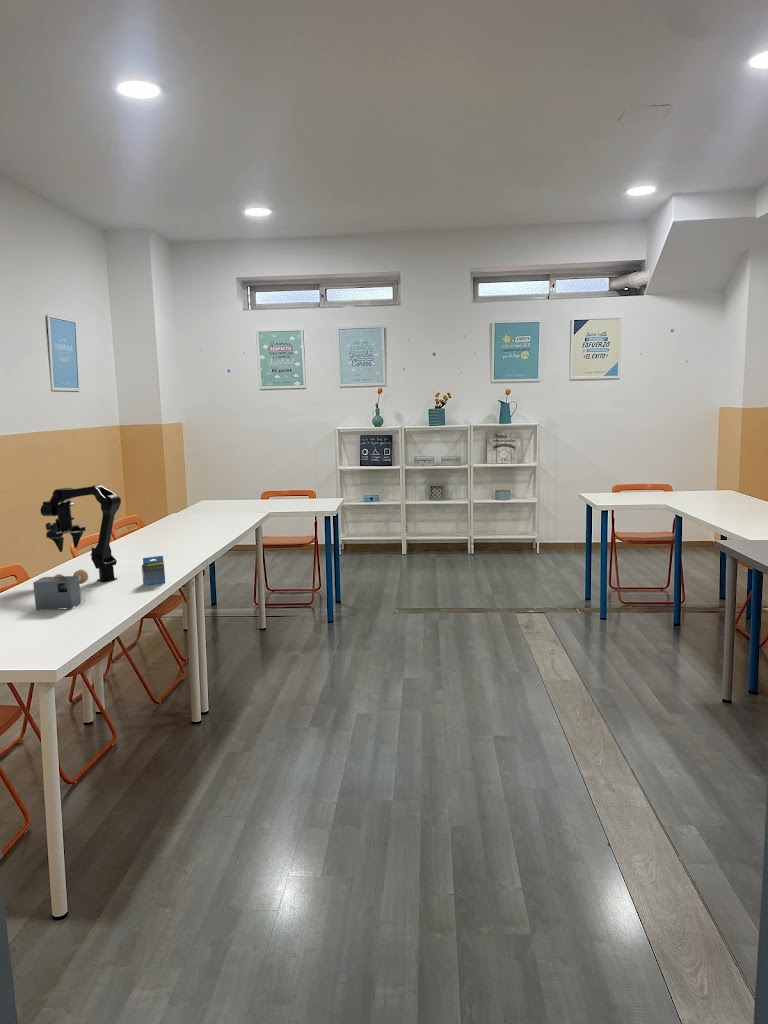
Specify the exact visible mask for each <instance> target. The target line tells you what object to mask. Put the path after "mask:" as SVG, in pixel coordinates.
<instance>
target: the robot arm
mask: <svg viewBox="0 0 768 1024" xmlns="http://www.w3.org/2000/svg"><path fill="white" fill-rule="evenodd" d="M92 495H93V496H94V498H95V500H96V501H97V502H98V503H99V504H100V510H101V513H102V518H101V522H100V523H101V525H100V530H99V535H98V541H97V543H96V545H95V546H92V547H91V552H90V557H91V558H90V559H91V561H92V562H93V565H94V567H95V569H98V573H99V574H98V575H99V577H98V578H97V579H96V581H97V582H102V583H103V582H104V583H106V582H107V581H108V582H111V580H112V581H114V580H115V579H116V580H118V577H115V570H114V566H116V565H117V563H118V562H117V561H118V560H117V559H116V558H115V556H114V555H112V548H111V546H110V544H111V543H110V542H111V537H112V531H113V525H114V520H115V516H116V513H117V512H118V510H119V509H120V506H121V504H122V498H121V497H120V496H119V495H118V494H115V492H114V491H111V490H110V489H107V488H105V487H104V486H103V485H101V484H96V485H92V486H86V487H78V488H73V487H62V488H57V489H56V488H55V489H54V490H53V492H52V496H51V498H50V500H47V501H46V500H45V501H42V504H41V507H40V515H41V516H43V517H56V516H57V518H56V519H55V521H54V522H53V523H52V522H47V523H45V529H46V538H48V539H49V540H51V541H53V543H55V545H56V547H57V550H58V551H59V552H60V553H62V552H63V550H64V539H65V537H64V536H63V535H65V534H69V535H71V537H72V543H73V548H74V549H77V548H78V545H79V544H80V540H81V538H82V536H83V534H84V533H85V531H86V526H85V525H84V524H73V521H75V517H72V510H71V507H73V506H75V503H73V502H72V501H71V500H72V499H75V498H77V497H85V496H92Z"/></svg>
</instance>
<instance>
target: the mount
mask: <svg viewBox="0 0 768 1024" xmlns="http://www.w3.org/2000/svg"><path fill="white" fill-rule="evenodd" d="M64 583H67V589H65V588H64V587H63V584H64ZM80 585H81V584H79V576H73V575H69V576H68V575H66V576H65V575H63V574H56V575H54V576H42V577H41V578H39V579H36V580H35V581H33V593H34V603H35V604H34V605H35V610H36V609H55V610H59V609H58V608H73V607H74V606H76V605H77V604H79V603H80V602H81V603H82V599H81V598H82V597H81V588H80ZM81 603H80V604H81ZM80 604H79V605H80ZM77 606H78V605H77ZM77 606H76V607H77ZM74 608H75V607H74ZM74 608H73V609H74Z"/></svg>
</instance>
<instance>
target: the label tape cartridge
mask: <svg viewBox="0 0 768 1024" xmlns="http://www.w3.org/2000/svg"><path fill="white" fill-rule="evenodd" d="M165 572H166V571H165V563H164V555H159V556H158V555H157V556H150V557H149V556H148V557H142V565H141V574H142V575H141V577H142V584H143V586H145V585H147V586H151V584H153V585H158V584H165V583H166V573H165Z"/></svg>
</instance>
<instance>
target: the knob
mask: <svg viewBox="0 0 768 1024" xmlns="http://www.w3.org/2000/svg"><path fill="white" fill-rule="evenodd" d="M72 576H79V585H82V584H85V583H86V582H88V579H89V574H88V572H87V571H86V570H84V569H78V570H76V571H75V572H74V573H73V575H72ZM63 587H64V588H65V589H67V583H64V584H63Z"/></svg>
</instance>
